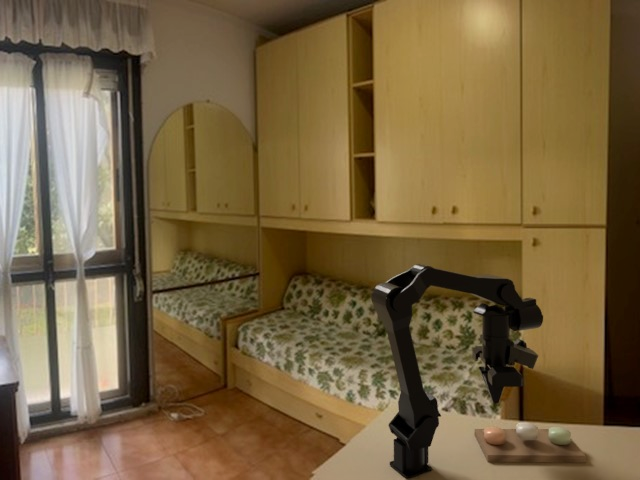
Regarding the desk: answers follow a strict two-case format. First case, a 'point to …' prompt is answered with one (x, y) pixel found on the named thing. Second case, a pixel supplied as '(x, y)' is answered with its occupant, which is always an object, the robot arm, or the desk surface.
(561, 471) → the desk surface
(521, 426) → the grey button
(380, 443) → the desk surface
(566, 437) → the sage button
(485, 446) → the console
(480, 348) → the robot arm
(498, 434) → the terracotta button
